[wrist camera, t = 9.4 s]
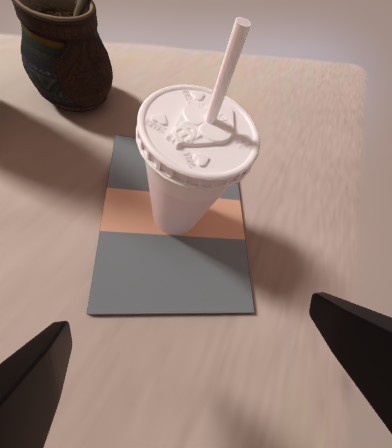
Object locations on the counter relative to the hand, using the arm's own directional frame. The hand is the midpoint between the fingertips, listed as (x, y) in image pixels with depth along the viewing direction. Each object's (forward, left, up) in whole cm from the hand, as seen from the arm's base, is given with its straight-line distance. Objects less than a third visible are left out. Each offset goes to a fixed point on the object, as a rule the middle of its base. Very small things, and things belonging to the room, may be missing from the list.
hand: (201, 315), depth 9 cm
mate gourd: (+23, +6, -10) cm, 26 cm away
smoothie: (+9, -2, -9) cm, 13 cm away
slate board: (+9, -2, -9) cm, 13 cm away
